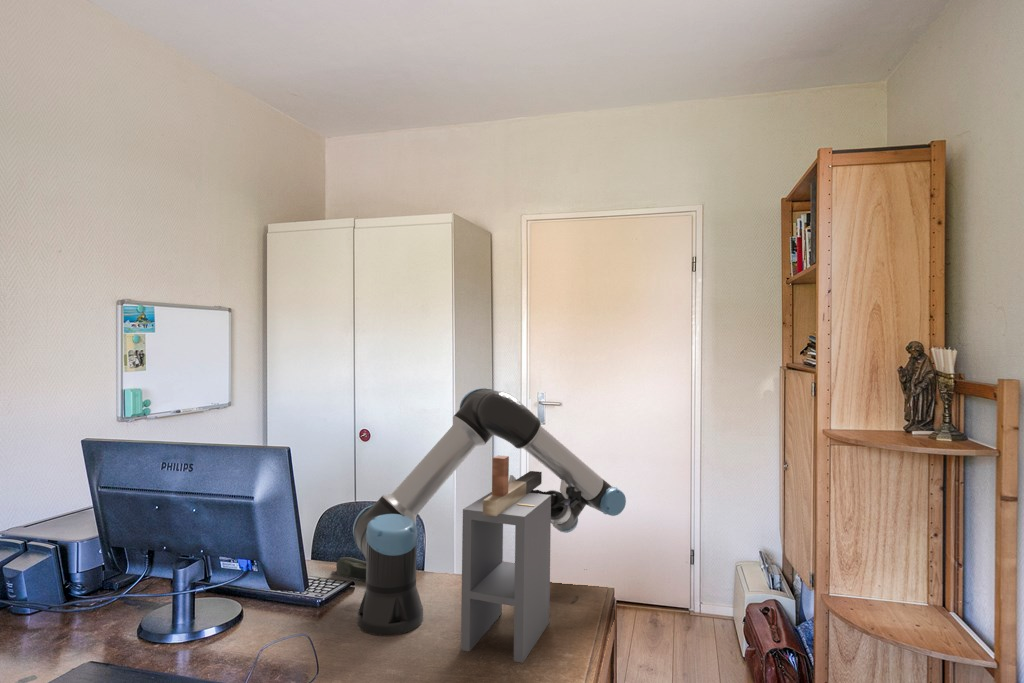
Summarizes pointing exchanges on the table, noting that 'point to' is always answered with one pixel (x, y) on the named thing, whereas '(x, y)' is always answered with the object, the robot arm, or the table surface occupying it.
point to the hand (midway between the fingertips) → (535, 482)
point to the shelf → (506, 571)
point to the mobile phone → (351, 568)
